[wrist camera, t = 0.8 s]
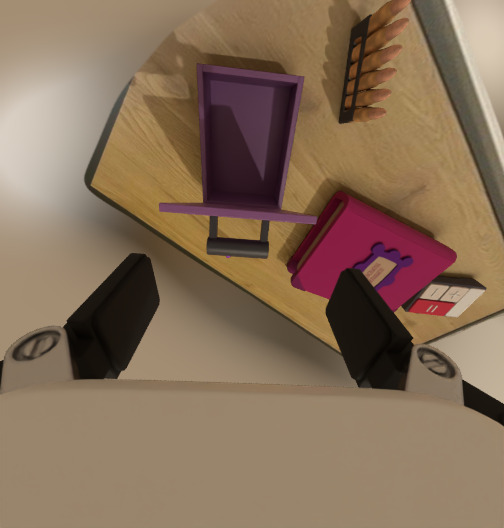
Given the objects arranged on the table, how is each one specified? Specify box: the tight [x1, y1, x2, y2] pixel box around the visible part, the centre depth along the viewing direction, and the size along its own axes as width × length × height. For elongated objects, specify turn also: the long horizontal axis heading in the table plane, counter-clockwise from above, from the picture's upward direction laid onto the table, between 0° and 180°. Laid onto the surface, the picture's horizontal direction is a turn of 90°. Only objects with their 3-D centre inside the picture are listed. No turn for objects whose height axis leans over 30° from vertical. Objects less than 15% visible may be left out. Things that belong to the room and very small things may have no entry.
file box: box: [197, 63, 304, 209], centre depth 33 cm, size 17×13×7 cm
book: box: [287, 191, 457, 312], centre depth 45 cm, size 21×28×8 cm
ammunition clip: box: [339, 0, 411, 124], centre depth 26 cm, size 11×2×12 cm, turn 4°
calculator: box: [401, 276, 486, 317], centre depth 54 cm, size 11×4×15 cm
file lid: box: [159, 203, 317, 259], centre depth 26 cm, size 18×13×5 cm
